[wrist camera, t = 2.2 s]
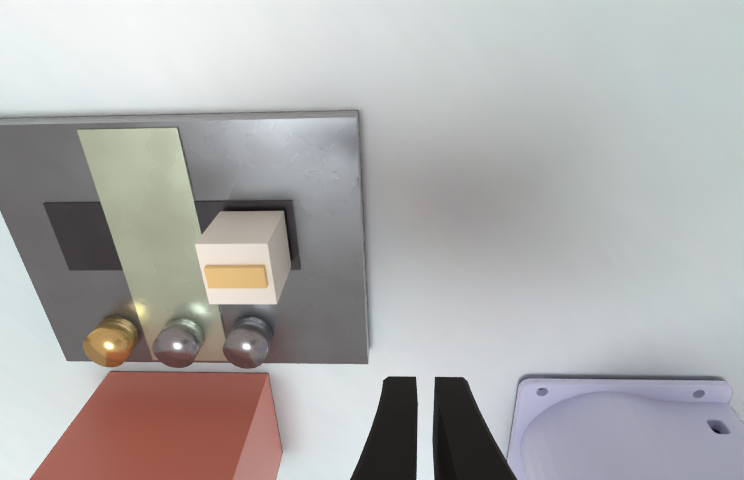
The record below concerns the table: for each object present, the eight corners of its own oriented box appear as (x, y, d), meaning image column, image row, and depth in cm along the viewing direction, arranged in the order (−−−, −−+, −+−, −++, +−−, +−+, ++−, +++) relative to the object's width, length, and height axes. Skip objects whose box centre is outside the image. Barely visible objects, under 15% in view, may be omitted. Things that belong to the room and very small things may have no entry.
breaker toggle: (284, 210, 18) (266, 246, 15) (291, 266, 19) (275, 307, 16) (220, 211, 18) (192, 247, 15) (231, 266, 19) (207, 307, 16)
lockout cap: (267, 373, 23) (229, 488, 18) (282, 452, 26) (253, 572, 21) (109, 371, 24) (27, 482, 18) (140, 449, 26) (76, 566, 21)
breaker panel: (357, 110, 17) (352, 127, 15) (369, 348, 22) (366, 383, 20) (-16, 118, 18) (-66, 135, 16) (79, 346, 23) (50, 380, 21)
